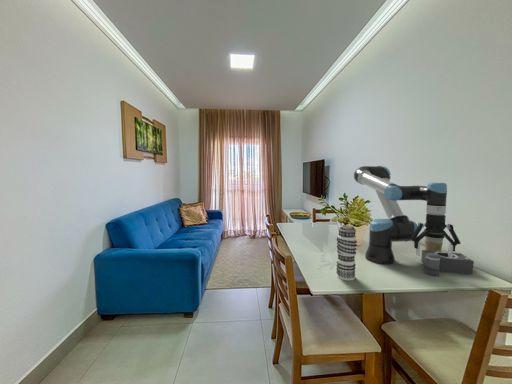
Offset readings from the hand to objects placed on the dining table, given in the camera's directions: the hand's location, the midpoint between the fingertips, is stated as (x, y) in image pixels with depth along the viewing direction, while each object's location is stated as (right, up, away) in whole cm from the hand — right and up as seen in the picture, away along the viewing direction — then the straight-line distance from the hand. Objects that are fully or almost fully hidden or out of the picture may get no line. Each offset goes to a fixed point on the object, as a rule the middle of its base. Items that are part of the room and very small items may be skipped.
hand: (433, 256), depth 115 cm
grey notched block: (+13, -9, +9) cm, 18 cm away
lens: (0, -9, +1) cm, 9 cm away
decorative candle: (-45, -10, -2) cm, 46 cm away
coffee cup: (+18, -8, +24) cm, 31 cm away
